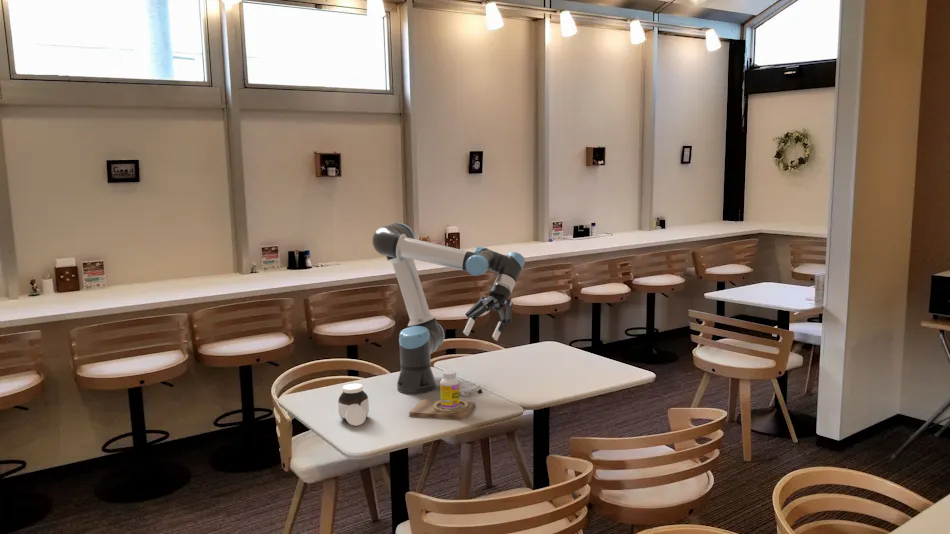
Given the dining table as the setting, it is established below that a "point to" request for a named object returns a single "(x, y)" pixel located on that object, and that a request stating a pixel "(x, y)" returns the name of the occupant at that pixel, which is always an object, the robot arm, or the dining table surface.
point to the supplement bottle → (450, 390)
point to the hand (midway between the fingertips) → (479, 336)
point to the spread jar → (353, 404)
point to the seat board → (441, 410)
